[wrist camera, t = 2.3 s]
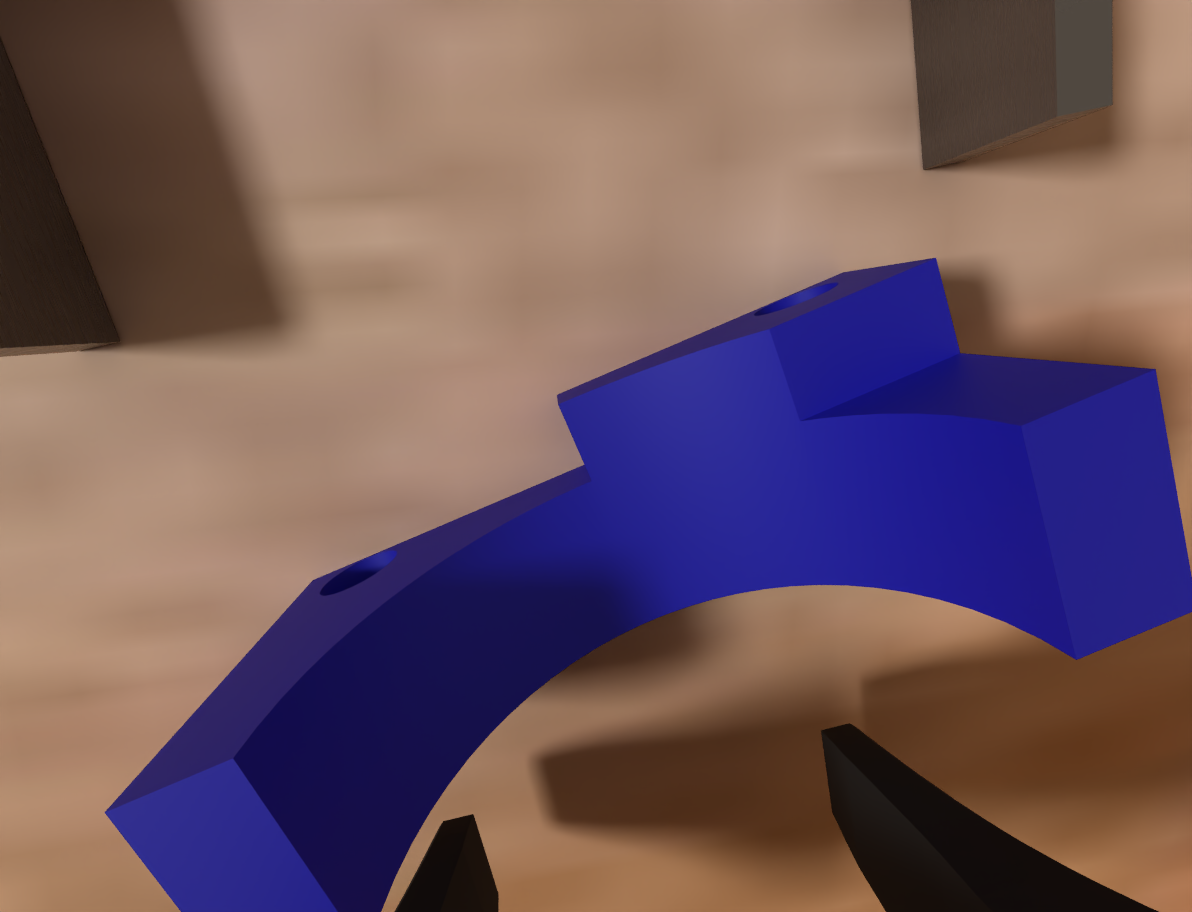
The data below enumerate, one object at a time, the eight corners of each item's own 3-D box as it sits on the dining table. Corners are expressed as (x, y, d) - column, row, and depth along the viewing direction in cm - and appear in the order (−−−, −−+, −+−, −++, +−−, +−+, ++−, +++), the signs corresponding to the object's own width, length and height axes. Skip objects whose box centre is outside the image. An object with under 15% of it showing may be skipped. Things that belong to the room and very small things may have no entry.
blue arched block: (838, 273, 12) (1131, 226, 6) (898, 476, 13) (1197, 609, 7) (279, 512, 12) (18, 700, 6) (384, 693, 13) (250, 1002, 7)
